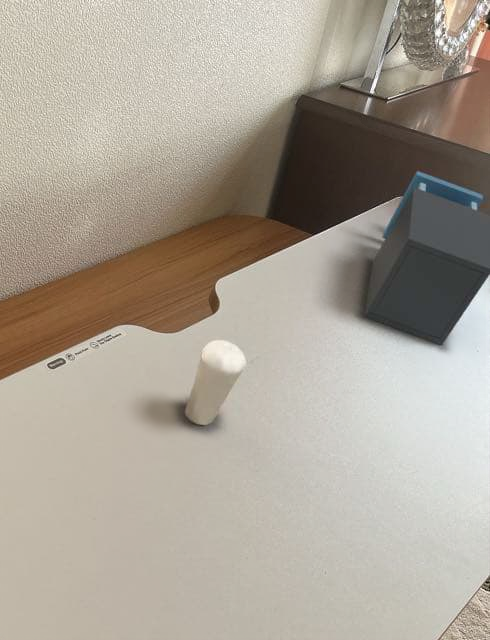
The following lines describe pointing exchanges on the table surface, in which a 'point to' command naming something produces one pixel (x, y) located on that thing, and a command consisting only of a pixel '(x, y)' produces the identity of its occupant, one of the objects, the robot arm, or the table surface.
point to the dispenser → (429, 266)
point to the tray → (440, 190)
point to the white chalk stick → (214, 380)
